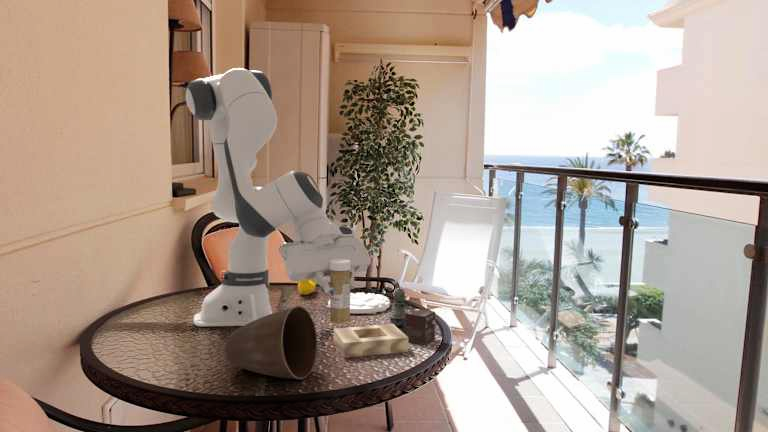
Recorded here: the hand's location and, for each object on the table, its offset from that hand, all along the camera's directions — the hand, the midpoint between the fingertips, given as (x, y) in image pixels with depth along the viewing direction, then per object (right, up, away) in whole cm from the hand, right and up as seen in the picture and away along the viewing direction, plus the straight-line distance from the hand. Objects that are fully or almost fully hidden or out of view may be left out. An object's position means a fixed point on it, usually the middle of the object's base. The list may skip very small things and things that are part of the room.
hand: (341, 289), depth 111 cm
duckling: (-19, -12, +73) cm, 76 cm away
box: (+18, -17, +23) cm, 34 cm away
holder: (+6, -17, +17) cm, 24 cm away
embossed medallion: (+1, -14, +56) cm, 58 cm away
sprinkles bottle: (0, -7, +1) cm, 7 cm away
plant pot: (-23, -13, +1) cm, 27 cm away
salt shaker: (+13, -16, +33) cm, 39 cm away
